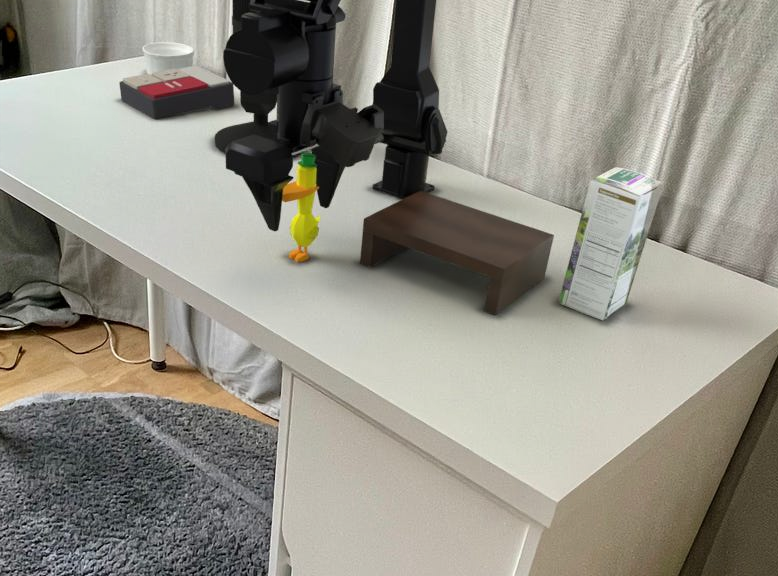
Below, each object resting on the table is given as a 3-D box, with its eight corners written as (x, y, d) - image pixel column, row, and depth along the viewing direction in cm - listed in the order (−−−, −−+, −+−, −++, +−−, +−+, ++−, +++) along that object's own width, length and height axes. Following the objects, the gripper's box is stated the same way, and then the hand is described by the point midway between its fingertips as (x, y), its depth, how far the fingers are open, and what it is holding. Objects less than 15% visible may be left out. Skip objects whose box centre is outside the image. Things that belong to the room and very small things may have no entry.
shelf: (415, 232, 111) (420, 190, 108) (544, 279, 104) (554, 234, 100) (359, 263, 103) (363, 218, 100) (495, 315, 96) (504, 268, 92)
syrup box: (581, 287, 103) (613, 163, 94) (628, 306, 100) (665, 179, 91) (557, 304, 99) (588, 176, 90) (605, 323, 96) (641, 193, 87)
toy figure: (286, 271, 100) (289, 166, 93) (265, 260, 102) (267, 156, 95) (329, 256, 104) (335, 154, 97) (309, 245, 106) (313, 144, 99)
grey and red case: (117, 76, 142) (197, 61, 150) (120, 104, 145) (199, 87, 153) (152, 95, 136) (234, 78, 144) (155, 123, 139) (235, 105, 146)
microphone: (289, 167, 126) (295, -30, 111) (200, 151, 129) (194, -44, 113) (317, 138, 137) (326, -45, 122) (234, 124, 139) (233, -57, 124)
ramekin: (204, 77, 158) (203, 51, 156) (160, 83, 153) (158, 57, 151) (177, 65, 163) (176, 39, 161) (134, 70, 159) (132, 44, 156)
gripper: (311, 111, 81) (304, 267, 91) (420, 75, 94) (404, 215, 103) (220, 83, 86) (223, 234, 96) (335, 52, 98) (327, 189, 108)
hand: (299, 218), depth 100 cm, fingers open, 9 cm apart
